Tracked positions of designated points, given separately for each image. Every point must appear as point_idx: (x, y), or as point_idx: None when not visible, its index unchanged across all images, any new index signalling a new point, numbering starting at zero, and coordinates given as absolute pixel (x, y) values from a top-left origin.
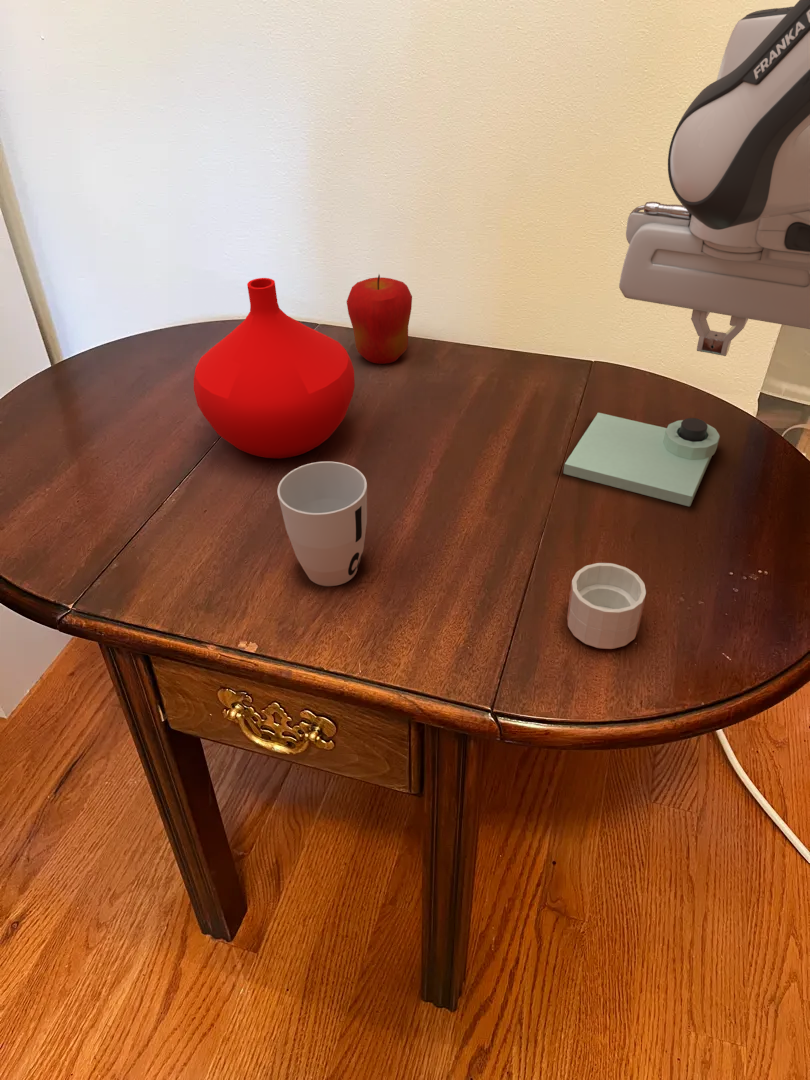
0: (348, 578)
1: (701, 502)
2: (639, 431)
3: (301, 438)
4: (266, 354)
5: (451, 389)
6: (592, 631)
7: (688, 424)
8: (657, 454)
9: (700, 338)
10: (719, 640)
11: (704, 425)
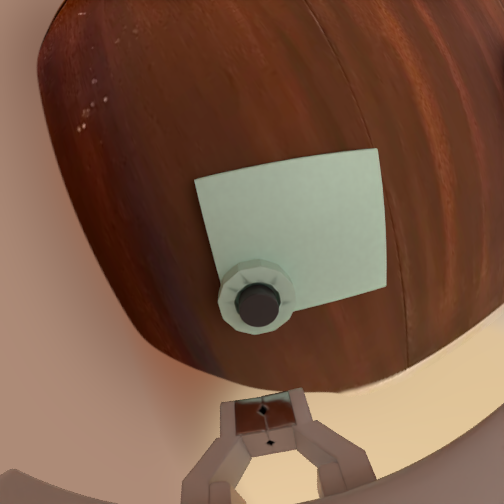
0: None
1: (189, 199)
2: (327, 281)
3: None
4: None
5: (496, 238)
6: None
7: (266, 305)
8: (283, 246)
9: (306, 416)
10: (90, 20)
11: (245, 317)
